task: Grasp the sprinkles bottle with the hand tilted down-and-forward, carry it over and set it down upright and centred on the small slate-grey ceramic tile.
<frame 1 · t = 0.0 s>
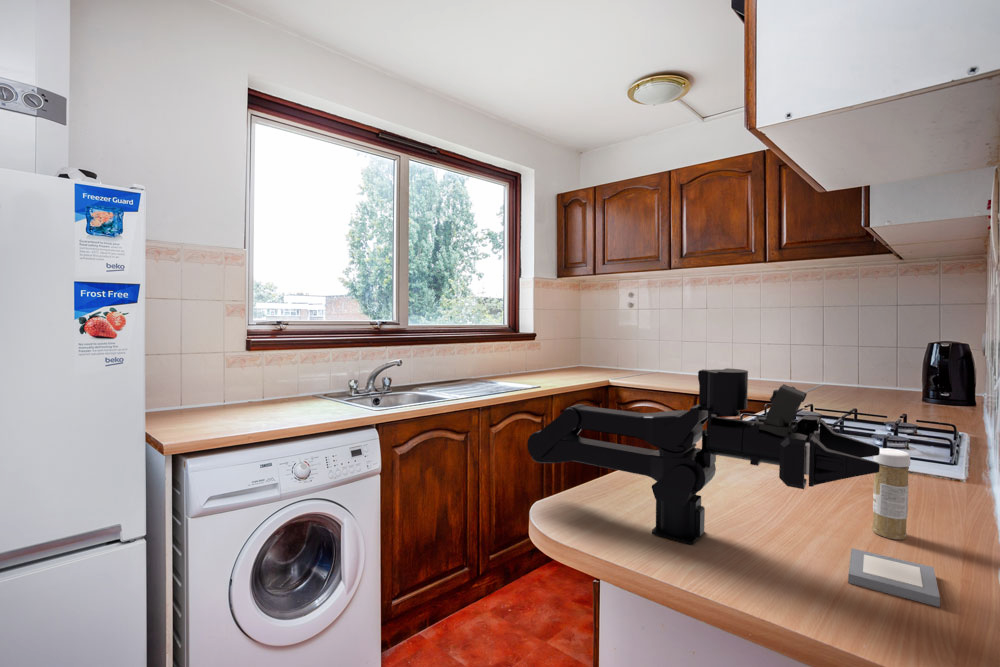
hand: (879, 458, 64), 17 cm above the counter, tool horizontal, fingers open, 9 cm apart
sprinkles bottle: (889, 535, 80), on the counter
tile: (891, 579, 66), on the counter
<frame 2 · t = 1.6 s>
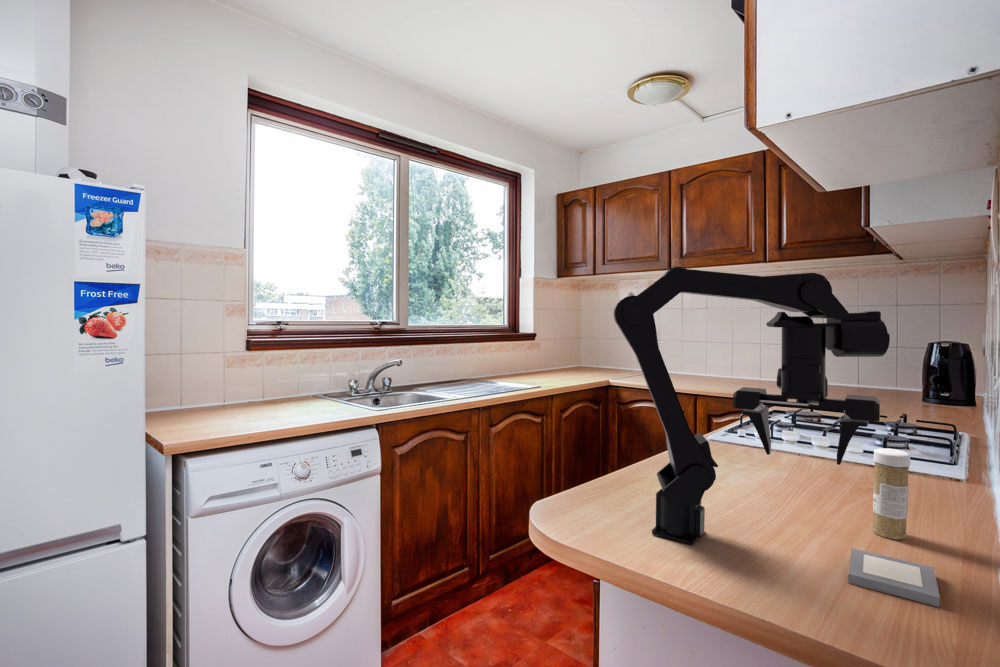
hand: (802, 458, 76), 13 cm above the counter, tool pointing down, fingers open, 9 cm apart
nothing on the counter moved.
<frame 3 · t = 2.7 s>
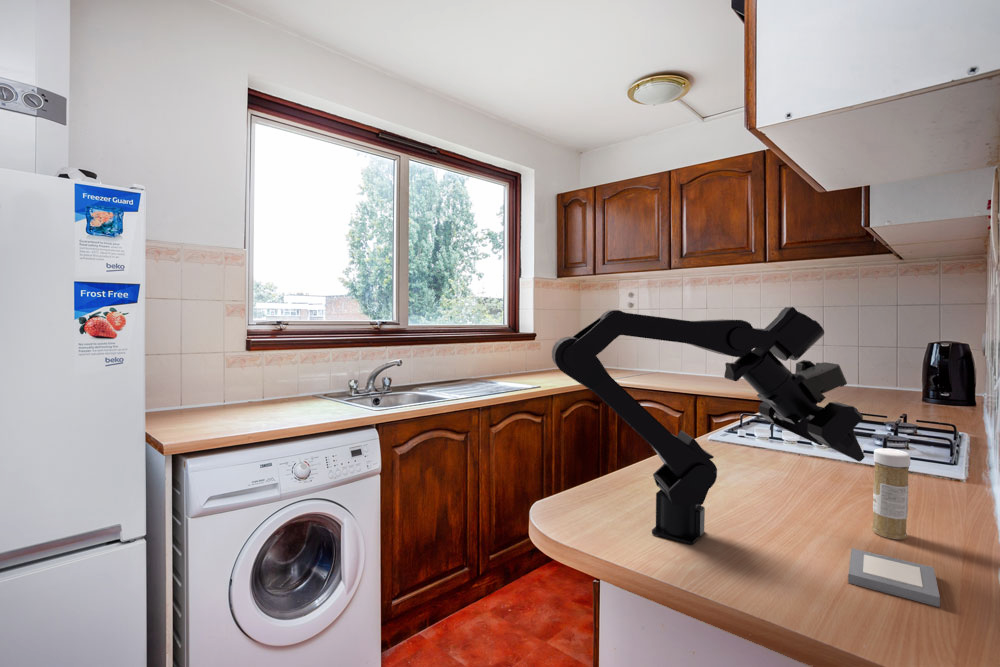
hand: (841, 450, 79), 13 cm above the counter, tool tilted 45°, fingers open, 9 cm apart
nothing on the counter moved.
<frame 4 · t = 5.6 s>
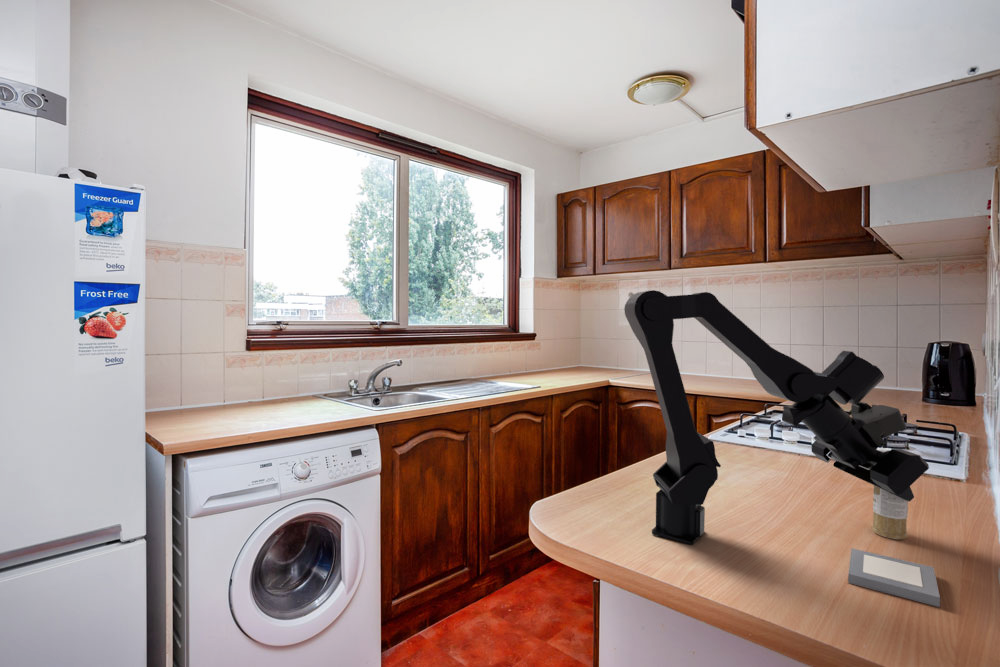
hand: (899, 493, 79), 7 cm above the counter, tool tilted 45°, fingers closed on sprinkles bottle, 4 cm apart
sprinkles bottle: (889, 535, 80), on the counter, touching gripper
when the fingers open (9 cm above the counter, at t = 9.2 s): sprinkles bottle stays where it is, resting on tile.
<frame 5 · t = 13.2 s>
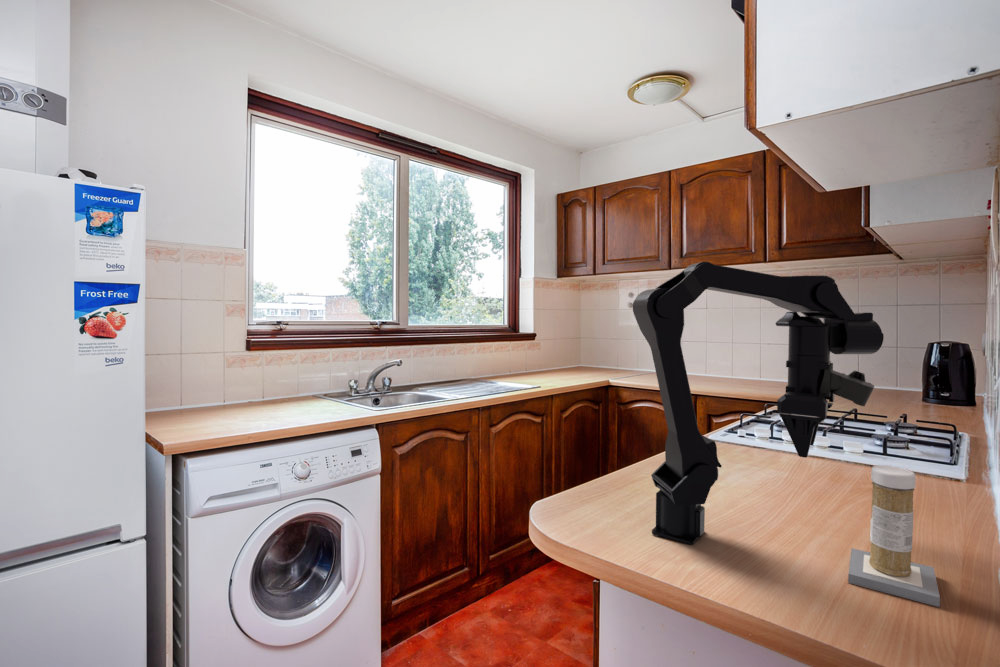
hand: (806, 450, 81), 13 cm above the counter, tool pointing down, fingers open, 9 cm apart
sprinkles bottle: (889, 570, 66), point 1 cm above the counter, touching tile
at the end: sprinkles bottle 0.2 cm off-centre on the tile, point 1.1 cm above the tile's base; sprinkles bottle tilted 0°; the gripper is holding nothing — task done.
